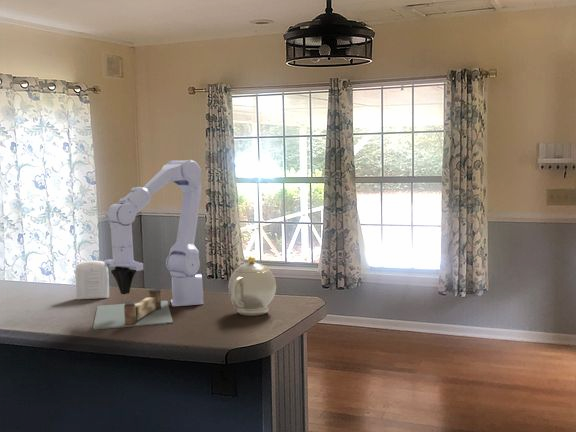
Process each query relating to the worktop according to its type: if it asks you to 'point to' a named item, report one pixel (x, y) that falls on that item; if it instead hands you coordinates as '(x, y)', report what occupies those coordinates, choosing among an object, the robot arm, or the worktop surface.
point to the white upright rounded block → (92, 280)
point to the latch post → (130, 313)
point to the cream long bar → (145, 307)
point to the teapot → (252, 288)
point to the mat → (116, 319)
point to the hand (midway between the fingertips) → (125, 293)
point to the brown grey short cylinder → (156, 294)
